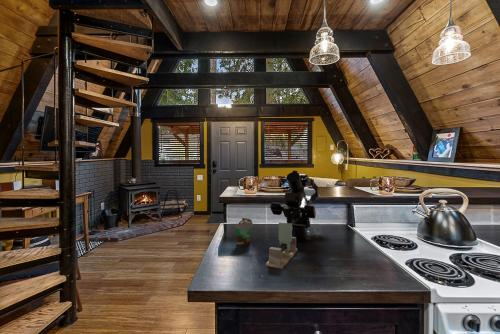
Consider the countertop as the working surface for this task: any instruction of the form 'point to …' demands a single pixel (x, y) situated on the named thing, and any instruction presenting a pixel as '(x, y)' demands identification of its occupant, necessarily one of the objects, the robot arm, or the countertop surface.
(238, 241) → the food container
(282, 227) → the grey-green notched block
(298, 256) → the countertop surface
